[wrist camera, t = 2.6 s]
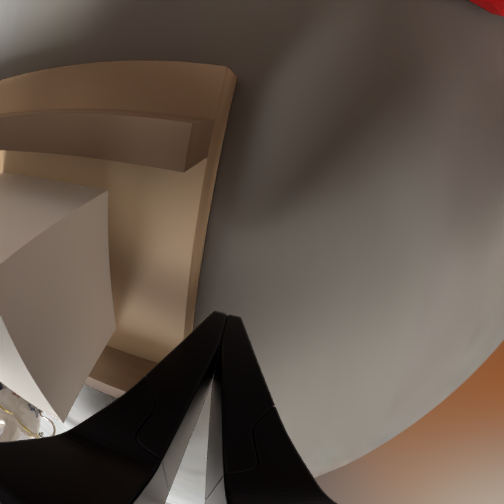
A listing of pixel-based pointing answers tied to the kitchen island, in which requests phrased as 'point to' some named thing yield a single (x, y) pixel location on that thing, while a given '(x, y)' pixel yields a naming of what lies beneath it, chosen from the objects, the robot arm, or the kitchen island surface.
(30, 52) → the kitchen island surface
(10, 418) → the chinaware
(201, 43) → the kitchen island surface
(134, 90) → the light wood shallow tray
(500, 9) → the water bottle
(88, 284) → the cream block
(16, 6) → the kitchen island surface
